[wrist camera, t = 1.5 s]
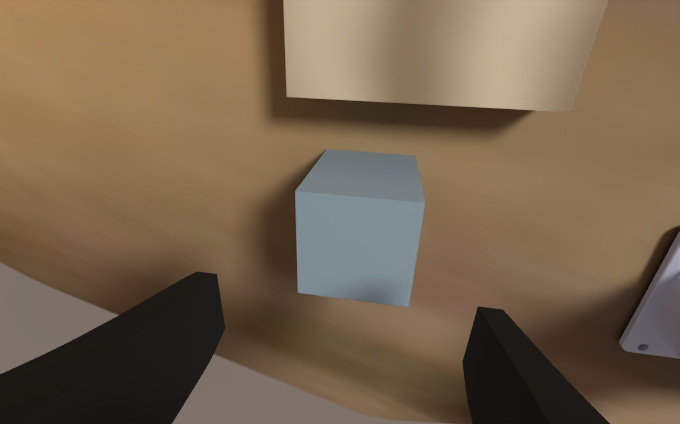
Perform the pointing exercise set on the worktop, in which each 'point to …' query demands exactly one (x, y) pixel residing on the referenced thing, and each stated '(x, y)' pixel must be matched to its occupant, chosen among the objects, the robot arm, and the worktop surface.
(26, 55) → the worktop surface
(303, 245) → the blue block
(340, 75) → the birch base
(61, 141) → the worktop surface
